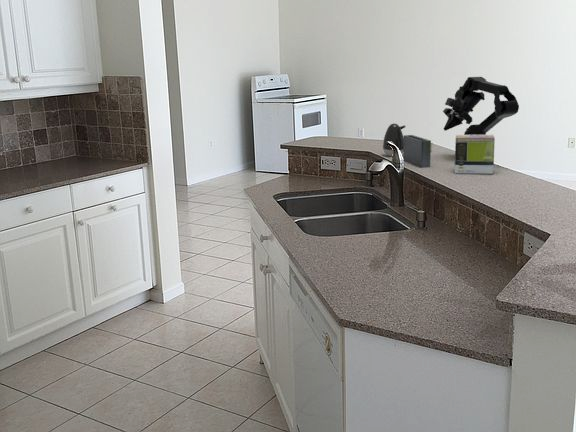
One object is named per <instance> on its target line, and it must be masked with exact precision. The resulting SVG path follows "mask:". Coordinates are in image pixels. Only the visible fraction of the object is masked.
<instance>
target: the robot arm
mask: <svg viewBox="0 0 576 432" xmlns="http://www.w3.org/2000/svg"><path fill="white" fill-rule="evenodd" d="M479 91H480V92H479ZM484 92H485V93H488V94H491V95H493V96H494V100H493V105H494V111H493V112H492V113H490V114H489V115H488V116H487V117H486V118H485V119H484V120H482V121H481V122H480V123H479V124H478V123H477V124H472V122H473V117H472V116H471V115H470V114H469V113H473V112H474V109H475V107H476V106H477V105H478V104H479V103H480V101H485V93H484ZM500 96H503V97H504V98H505V100H501V98H500ZM444 105H446V106H448V107H445V108H444V109H443V110H442V112H443V114H444V115H445V116H446V117H447V120H446V122H445V124H444V127H443V130H444V132H445V131H448V130H450V129H453V128H454V127H457V126H459V125H463V121H465V123H466V124H467V125H469V126H468V127H467V128H466V130H465V131H464V133H463V135H487V133H488V132H489V131H490V130H492V129H493V128H494V127H495V126H496V125H498V124H499V123H500V122H502V121H503V119H505V118H510V117H512V116H514V115H516V114H517V113H518V112H519V109H520V106H519V105H520V104H519V103H518V100H517V97H516V96H515V95H514V94H513V93H512V92H511V91H510V89H509V88H508V86H507V85H505V84H504V85H502V84H499V83H494V82H491V81H487V79H486V78H484V77H483V76H467V78H466V80H465V82H464V83H463V85H462V86H459V89H457V90H456V92H455V93H454V98H452V97H447V99H446V101H445V103H444ZM449 107H451V108H449Z"/></svg>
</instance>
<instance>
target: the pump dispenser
mask: <svg viewBox="0 0 576 432" xmlns="http://www.w3.org/2000/svg"><path fill="white" fill-rule="evenodd" d="M405 128H406V125H400V126H399V124H398V123H391V124H389V125H388V127H387V129H386V131H385V135H384V137H383V142H382V150H383V152H384V154H385V155H386V156H387V157H391V158H393V157H392V154H393V150H392V148H391V147H390V146H388V145H386V141H392V142H393V143H394V144H395V145H396V146H397V147H398V148H399V150H400V151H401V153H402V154H403V144H404V133H403V131H402V130H403V129H405Z"/></svg>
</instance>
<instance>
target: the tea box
mask: <svg viewBox="0 0 576 432" xmlns="http://www.w3.org/2000/svg"><path fill="white" fill-rule="evenodd" d="M454 144H455V146H454V147H455V149H454V150H455V151H454V174H478V175H479V174H480V175H481V174H486V175H489V174H491V175H493V174H494V166H495V165H494V164H495V163H494V162H495V136H494V134H486V135H464V134H456V135H455V143H454Z"/></svg>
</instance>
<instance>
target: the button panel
mask: <svg viewBox="0 0 576 432" xmlns="http://www.w3.org/2000/svg"><path fill="white" fill-rule="evenodd" d="M403 137H404V144H403V153H402V155H403V157H402V159H403V158H404V160H403V161H404V162H407V163H409V164H412V165H414V166H416V167H418V166H419V168H431V154H432V152H431V143H432V140H429V139H427V138H424V137H420V136H417V135H414V134H408V135H407V134H406V135H405V134H403Z"/></svg>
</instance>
